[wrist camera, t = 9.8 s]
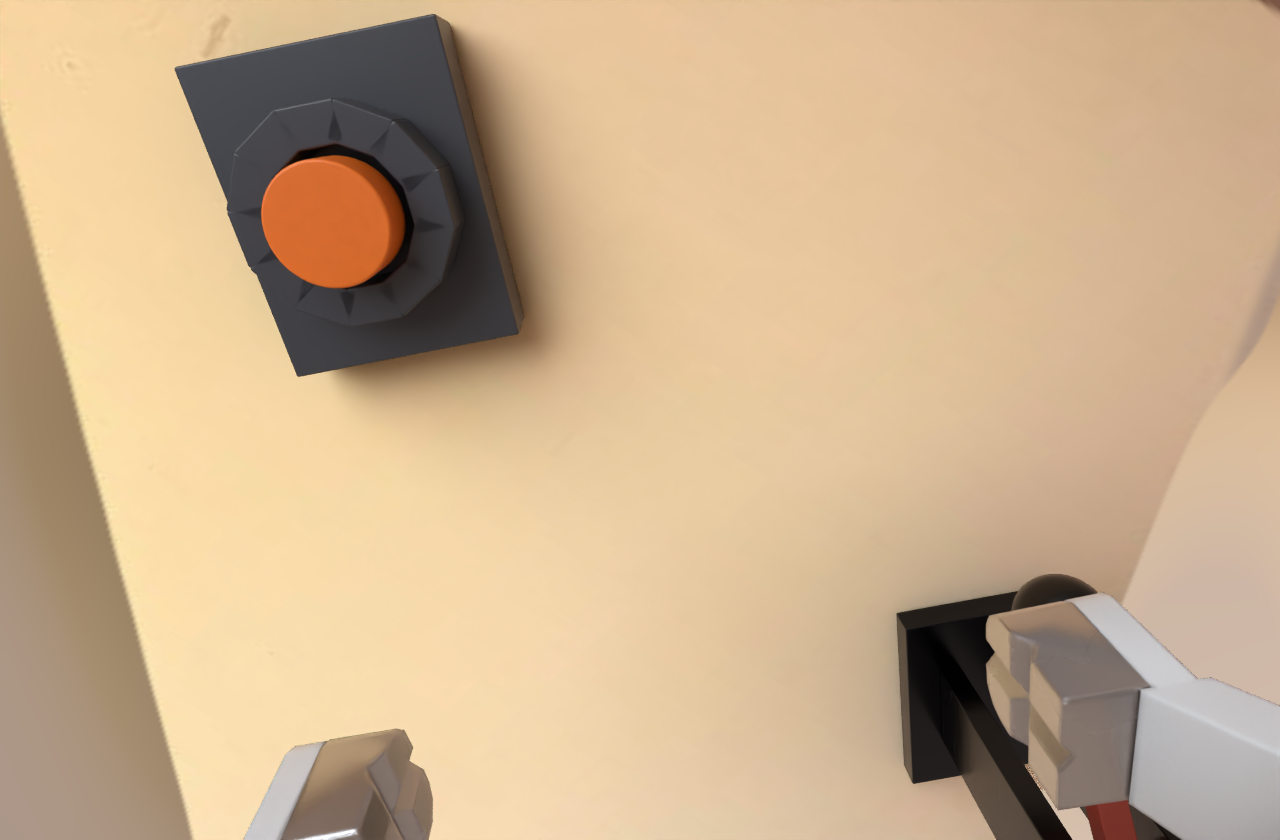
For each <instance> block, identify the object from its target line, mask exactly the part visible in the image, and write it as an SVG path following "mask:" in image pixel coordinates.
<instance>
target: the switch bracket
mask: <svg viewBox="0 0 1280 840" xmlns="http://www.w3.org/2000/svg"><path fill="white" fill-rule="evenodd" d="M1017 593H1018V591H1016V592H1011V593H1005V594H1000V595H994V596H989V597H983V598H978V599H972V600H967V601H961V602H956V603H950V604H945V605H939V606H934V607H928V608H923V609H917V610H912V611H906V612H901V613H897V633H898V652H899V672H900V692H901V711H902V731H903V751H904V766H905V768H906V770H907V772H908V774H909V776H910V779H911V781H912V783H913V784H916V783H921V782H927V781H933V780H938V779H944V778H950V777H955V776H961V775H962V777H963V779H964V781H965V783H966V785H967V786H968V788H969V790H970V792H971V794H972V796H973V797H974V799H975V801H976V803H977V805H978V807H979V809H980V810H981V812H982V814H983V816H984V818H985V820H986V821H987V823H988V825H989V827H990V829H991V831H992V832H993V834H994V836H995V838H996V840H1072V838H1071V837H1070V835H1069V834H1068V832H1067V831H1066V829H1065V828H1064V826H1063V824H1062V823H1061V822H1060V820H1059V818H1058V817H1057V815H1056V814H1055V812H1054V811H1053V809H1052V808H1051V806H1050V804H1049V803H1048V801H1047V800H1046V798H1045V797H1044V795H1043V794H1042V792H1041V791H1040V789H1039V787H1038V786H1037V784H1036V783H1035V781H1034V780H1033V778H1032V777H1031V775H1030V774H1029V772H1028V770H1027V769H1026V767H1025V766H1024V764H1028V752H1029V746H1027V745H1025V744H1023V743H1022V742H1020V741H1018V740H1016V739H1015V738H1013V737H1011V736H1010V735H1009V733H1008V732H1007V730H1006V728H1005V727H1004V725H1003V724H1002V722H1001V720H1000V718H999V716H998V714H997V712H996V710H995V707H994V705H993V703H992V699H991V695H990V692H989V688H988V684H987V669H986V664H987V662H988V661H989V660H990V658H991V657H992V656H993V654H994V653H995V651H994V650H993V648H992V647H991V645H990V644H989V642H988V641H987V639H986V623H987V620H988V618H989V615H994V614H999V613H1004V612H1009V611H1012V604H1013V601H1014V598H1015V596H1016V594H1017ZM1128 803H1129V800H1128ZM1129 807H1130V811H1131V815H1132V819H1133V823H1134V827H1135V831H1136V835H1137V839H1138V840H1181V839H1180V838H1178V837H1177V836H1176V835H1174V834H1173V833H1171V832H1170V831H1168V830H1167V829H1165V828H1164V827H1162V826H1161V825H1159V824H1158V823H1156V822H1155V821H1154V820H1152V819H1151V818H1149V817H1148V816H1146V815H1145V814H1143V813H1142V812H1140V811H1139V810H1137V809H1136V808H1134V807H1133V806H1132V805H1130V804H1129ZM1080 808H1081V810H1082V811H1083V813H1084V814H1085V815H1086V817H1087V818H1088V815H1087V811H1086V807H1085V806H1084V807H1080ZM1088 820H1089V819H1088Z"/></svg>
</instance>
